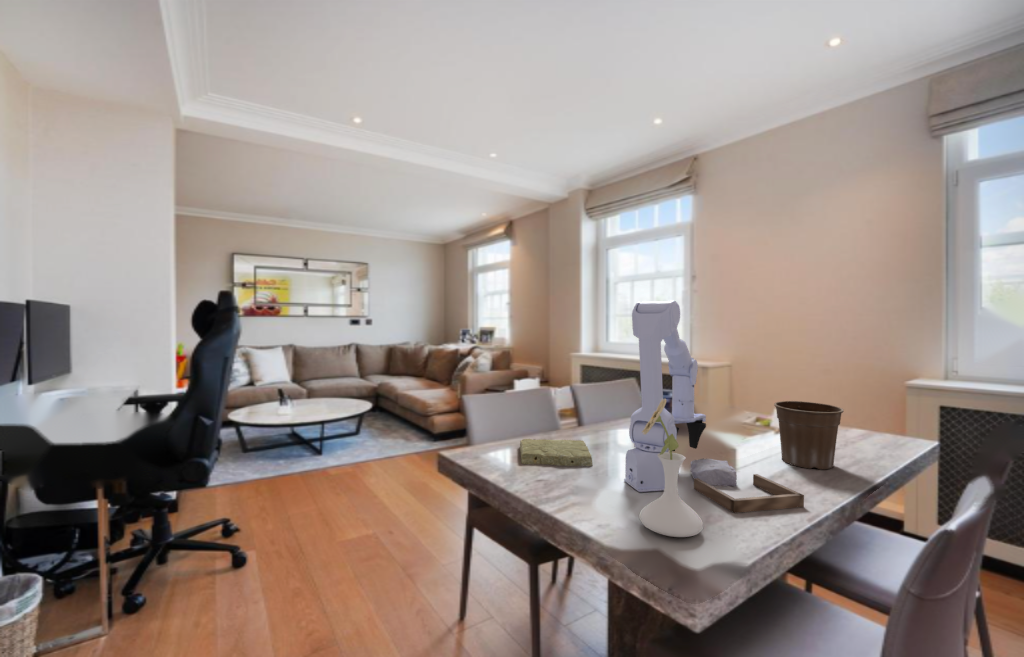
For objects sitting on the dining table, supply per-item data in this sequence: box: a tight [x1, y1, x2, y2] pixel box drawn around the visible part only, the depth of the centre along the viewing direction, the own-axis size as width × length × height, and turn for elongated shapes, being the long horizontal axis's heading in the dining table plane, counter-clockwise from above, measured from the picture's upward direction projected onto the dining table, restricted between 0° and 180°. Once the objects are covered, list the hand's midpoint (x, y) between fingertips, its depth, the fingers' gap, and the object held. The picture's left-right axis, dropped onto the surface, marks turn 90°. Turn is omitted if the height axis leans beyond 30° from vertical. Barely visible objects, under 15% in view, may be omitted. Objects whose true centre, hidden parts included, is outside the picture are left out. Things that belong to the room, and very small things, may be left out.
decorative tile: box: [519, 438, 593, 467], centre depth 130 cm, size 19×20×4 cm
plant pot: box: [773, 400, 845, 470], centre depth 125 cm, size 16×16×16 cm
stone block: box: [690, 458, 738, 487], centre depth 113 cm, size 12×5×10 cm
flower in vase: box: [638, 398, 704, 538], centre depth 83 cm, size 13×11×25 cm
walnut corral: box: [693, 473, 805, 514], centre depth 100 cm, size 17×14×2 cm
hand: (682, 449), depth 124 cm, fingers open, 7 cm apart
